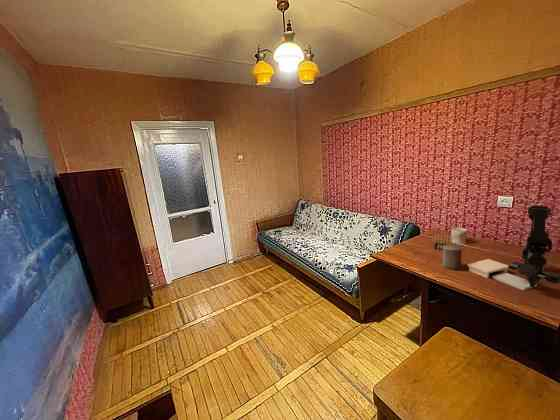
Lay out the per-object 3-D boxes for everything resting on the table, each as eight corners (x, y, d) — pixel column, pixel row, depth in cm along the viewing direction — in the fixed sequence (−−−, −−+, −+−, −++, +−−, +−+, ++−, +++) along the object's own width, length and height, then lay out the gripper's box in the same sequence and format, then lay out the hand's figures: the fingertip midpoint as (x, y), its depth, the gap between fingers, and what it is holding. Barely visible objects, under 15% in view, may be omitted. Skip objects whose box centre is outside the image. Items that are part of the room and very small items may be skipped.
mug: (447, 240, 190) (447, 228, 188) (460, 239, 191) (461, 226, 189) (458, 245, 179) (458, 231, 177) (471, 243, 181) (472, 229, 178)
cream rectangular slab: (487, 265, 145) (488, 258, 144) (508, 272, 134) (509, 265, 134) (467, 270, 141) (467, 264, 140) (487, 278, 131) (487, 271, 130)
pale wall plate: (504, 275, 133) (505, 272, 133) (536, 287, 120) (537, 283, 120) (492, 279, 131) (492, 275, 130) (523, 291, 118) (523, 287, 117)
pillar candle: (464, 269, 143) (466, 246, 141) (451, 271, 142) (452, 248, 139) (451, 263, 153) (452, 241, 150) (438, 265, 151) (439, 243, 149)
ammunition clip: (451, 250, 172) (452, 235, 169) (451, 251, 170) (452, 235, 168) (434, 248, 178) (434, 233, 175) (434, 249, 176) (434, 234, 174)
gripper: (502, 255, 122) (499, 281, 125) (550, 269, 104) (546, 300, 107) (517, 251, 125) (514, 277, 128) (566, 265, 107) (562, 294, 110)
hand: (532, 286), depth 118 cm, fingers closed
